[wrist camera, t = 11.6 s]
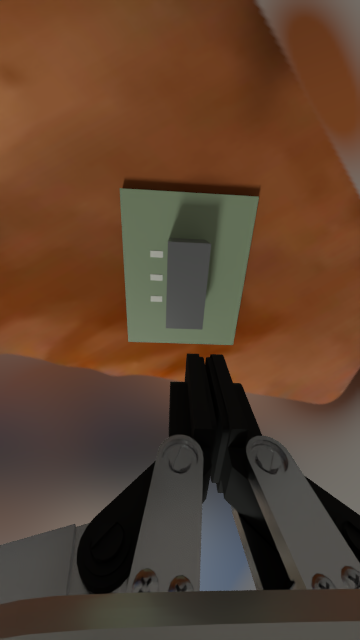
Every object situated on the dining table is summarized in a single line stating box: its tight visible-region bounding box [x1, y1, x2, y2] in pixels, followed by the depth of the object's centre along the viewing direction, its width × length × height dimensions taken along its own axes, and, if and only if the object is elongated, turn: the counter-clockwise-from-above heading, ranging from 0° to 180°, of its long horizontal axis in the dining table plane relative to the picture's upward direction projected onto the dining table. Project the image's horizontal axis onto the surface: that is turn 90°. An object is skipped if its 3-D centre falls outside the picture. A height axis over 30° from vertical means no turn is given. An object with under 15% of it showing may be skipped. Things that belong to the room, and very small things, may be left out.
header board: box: [120, 188, 259, 345], centre depth 28 cm, size 20×16×5 cm
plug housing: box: [166, 238, 211, 330], centre depth 27 cm, size 10×4×5 cm, turn 177°
